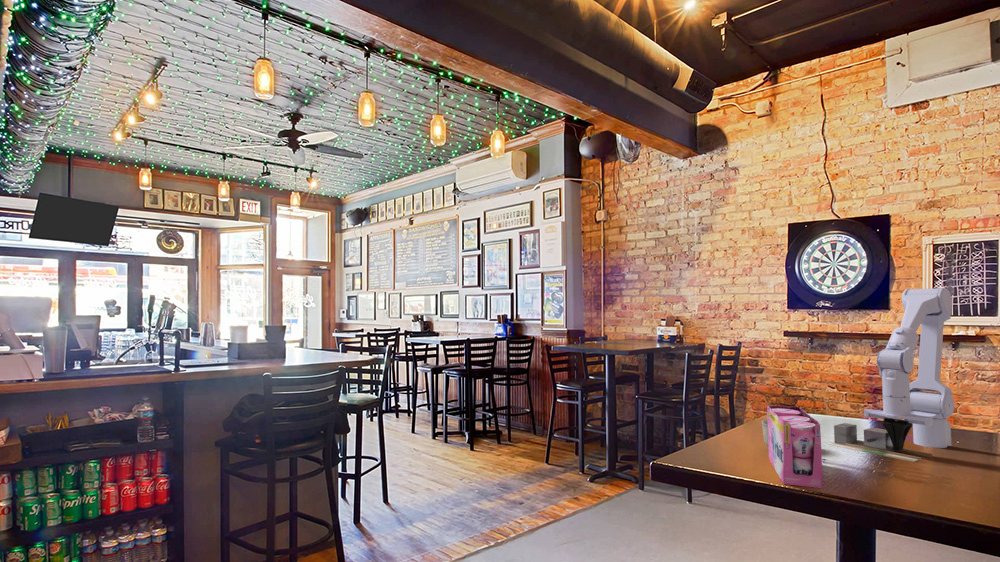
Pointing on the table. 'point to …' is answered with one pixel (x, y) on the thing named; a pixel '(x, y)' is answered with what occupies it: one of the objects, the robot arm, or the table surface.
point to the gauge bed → (848, 437)
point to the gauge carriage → (877, 439)
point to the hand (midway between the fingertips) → (898, 449)
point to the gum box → (795, 446)
